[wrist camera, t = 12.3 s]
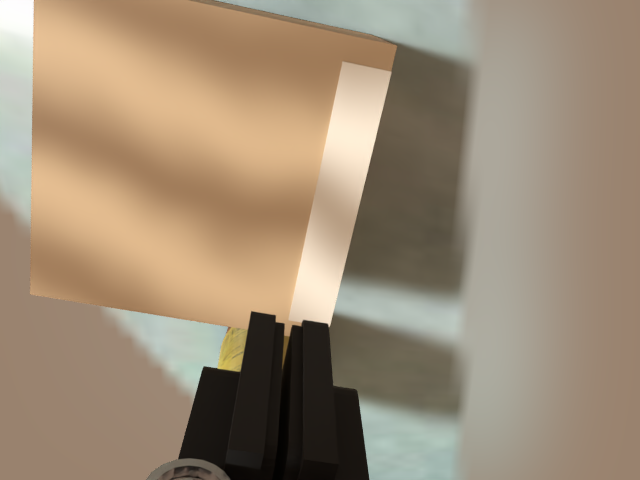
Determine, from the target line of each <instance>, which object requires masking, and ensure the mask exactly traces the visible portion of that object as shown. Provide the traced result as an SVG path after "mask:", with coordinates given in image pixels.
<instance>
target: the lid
mask: <svg viewBox="0 0 640 480" xmlns="http://www.w3.org/2000/svg"><path fill="white" fill-rule="evenodd" d="M396 49H397V45H395V44H391V43H386V42H382V41H377V40H372V39H368V38H363V37H359V36H354V35H349V34H345V33H340V32H336V31H331V30H326V29H322V28H317V27H313V26H308V25H303V24H299V23H294V22H290V21H285V20H280V19H276V18H271V17H267V16H262V15H257V14H253V13H248V12H244V11H239V10H234V9H230V8H225V7H221V6H216V5H211V4H207V3H202V2H198V1H193V0H34V32H33V111H32V189H31V267H30V272H31V273H30V294H32V295H37V296H43V297H50V298H56V299H62V300H68V301H74V302H80V303H86V304H93V305H99V306H105V307H111V308H117V309H123V310H129V311H136V312H142V313H148V314H154V315H160V316H166V317H172V318H178V319H185V320H191V321H197V322H203V323H209V324H215V325H221V326H228V327H234V328H240V329H246V330H248V326H249V320H250V315H251V311H254V312H260V313H266V314H272V315H276V322H279V323H285V330H284V336H290V332H291V327H292V325H298V326H301V324H302V321H303V320H309V321H315V322H321V323H327V324H328V325H329V327H330V324H331V320H332V316H333V312H334V308H335V304H336V299H337V295H338V291H339V287H340V283H341V279H342V275H343V271H344V266H345V262H346V258H347V254H348V250H349V246H350V242H351V238H352V234H353V229H354V225H355V221H356V217H357V213H358V209H359V205H360V201H361V197H362V192H363V188H364V184H365V180H366V176H367V172H368V168H369V164H370V159H371V155H372V151H373V147H374V143H375V139H376V135H377V131H378V127H379V122H380V118H381V114H382V110H383V106H384V102H385V98H386V94H387V90H388V85H389V81H390V77H391V73H392V72H391V70H392V66H393V61H394V57H395V53H396Z"/></svg>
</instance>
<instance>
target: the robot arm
mask: <svg viewBox="0 0 640 480" xmlns="http://www.w3.org/2000/svg"><path fill="white" fill-rule="evenodd" d="M284 330H285V323H279V322H276V315H272V314H266V313H260V312H254V311H251V315H250V320H249V326H248V331H247V337H246V342H245V348H244V353H243V359H242V365H241V370H240V372H238V371H231V370H225V369H218V368H211V367H205V366H204V367H203V370H202V373H201V377H200V381H199V384H198V388H197V392H196V395H195V399H194V403H193V406H192V410H191V414H190V418H189V421H188V425H187V428H186V432H185V436H184V440H183V443H182V447H181V450H180V454H179V458H178V460H174V461H171V462H168V463H166V464H163V465H161V466H160V467H158V468H157V469H156V470H154V471H153V472H152V473H151V474H150V475H149V476H148V478H147V479H146V480H369V474H368V466H367V459H366V451H365V444H364V436H363V429H362V421H361V414H360V406H359V399H358V394H357V391H356V390H355V389H350V388H343V387H337V386H333V379H332V365H331V351H330V337H329V325H328V324H327V323H321V322H315V321H309V320H303V321H302V324H301V326H298V325H292V327H291V332H290V336H289V341H288V345H287V350H286V355H285V359H284V364H283V369H282V363H283V347H284Z"/></svg>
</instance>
